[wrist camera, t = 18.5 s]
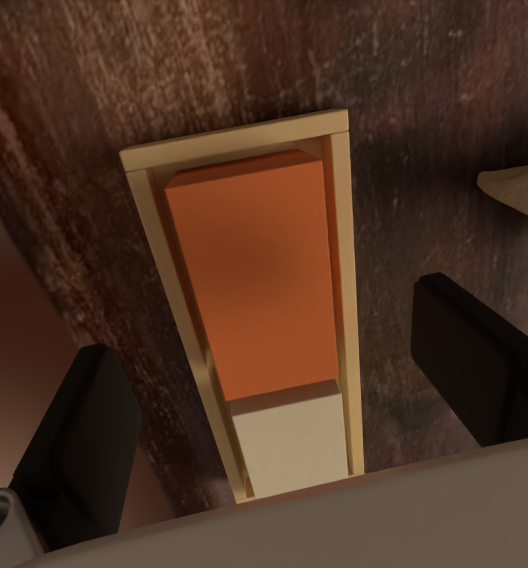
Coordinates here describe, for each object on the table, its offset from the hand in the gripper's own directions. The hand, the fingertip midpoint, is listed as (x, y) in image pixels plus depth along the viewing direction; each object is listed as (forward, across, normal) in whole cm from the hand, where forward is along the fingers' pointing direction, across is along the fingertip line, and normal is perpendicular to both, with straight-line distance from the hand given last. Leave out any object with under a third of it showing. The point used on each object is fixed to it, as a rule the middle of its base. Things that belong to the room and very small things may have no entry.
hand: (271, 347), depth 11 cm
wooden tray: (+8, 0, +6) cm, 10 cm away
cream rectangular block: (+7, 0, +12) cm, 14 cm away
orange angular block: (+8, 0, 0) cm, 8 cm away
